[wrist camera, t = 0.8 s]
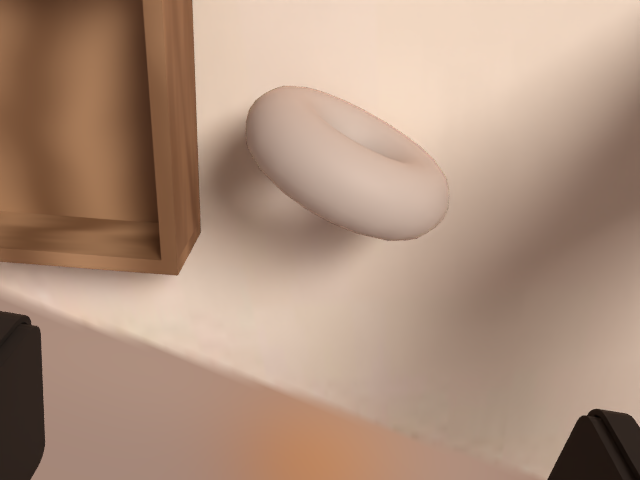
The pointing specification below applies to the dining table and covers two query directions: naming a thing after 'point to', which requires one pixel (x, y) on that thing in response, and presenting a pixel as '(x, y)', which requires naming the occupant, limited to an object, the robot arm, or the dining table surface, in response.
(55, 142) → the walnut box
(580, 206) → the dining table surface
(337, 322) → the dining table surface
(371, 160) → the donut
